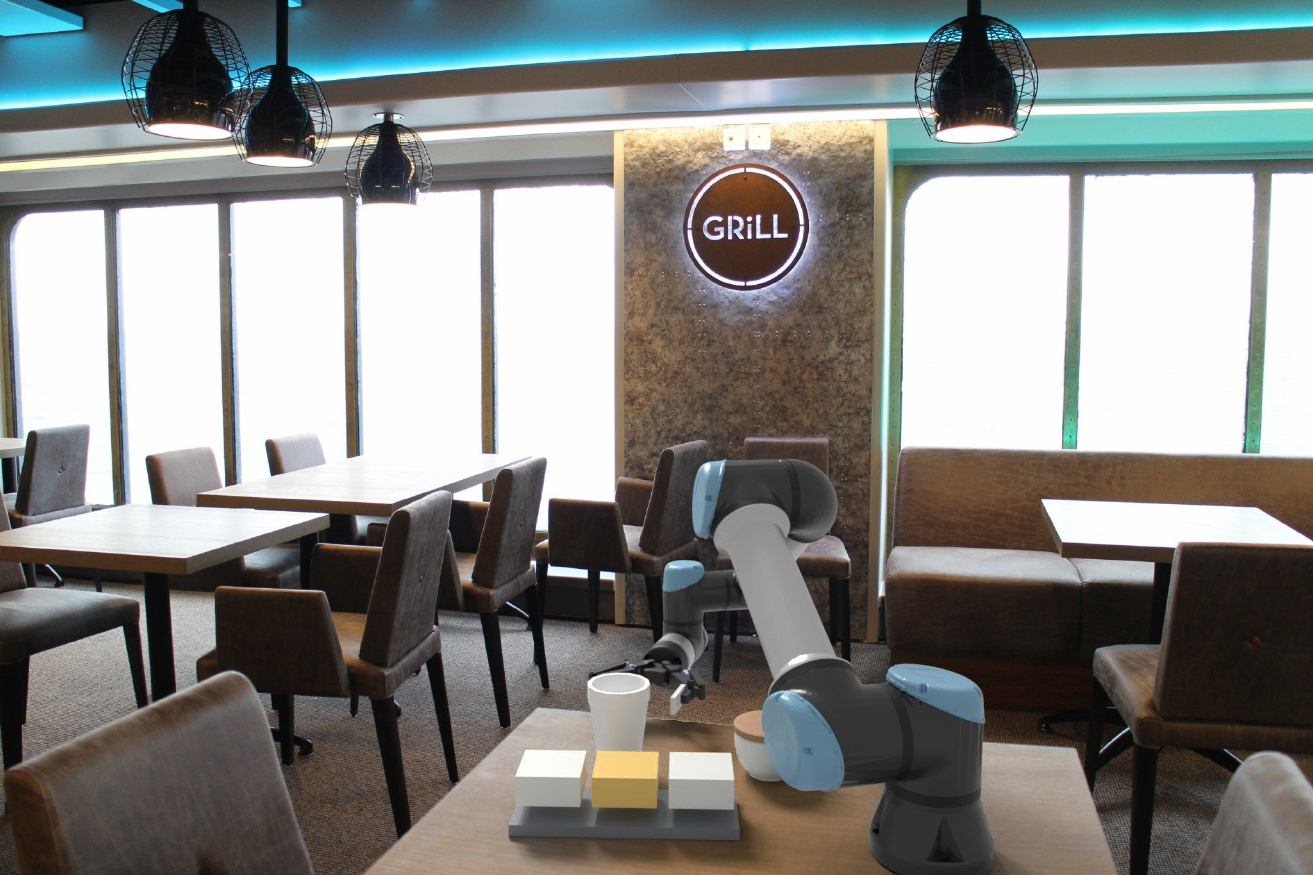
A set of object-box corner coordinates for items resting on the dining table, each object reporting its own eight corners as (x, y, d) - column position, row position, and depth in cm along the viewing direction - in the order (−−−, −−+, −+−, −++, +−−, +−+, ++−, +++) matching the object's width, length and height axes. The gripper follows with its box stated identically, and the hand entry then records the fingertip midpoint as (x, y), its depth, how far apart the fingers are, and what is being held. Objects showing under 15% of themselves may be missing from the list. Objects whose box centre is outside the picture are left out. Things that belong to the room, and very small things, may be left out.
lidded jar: (721, 764, 150) (721, 704, 149) (783, 753, 153) (784, 695, 153) (753, 793, 140) (753, 730, 139) (818, 782, 144) (819, 720, 143)
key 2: (730, 780, 136) (731, 752, 135) (733, 809, 127) (734, 779, 127) (669, 779, 136) (669, 751, 136) (668, 808, 128) (668, 778, 127)
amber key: (658, 779, 136) (658, 751, 136) (656, 808, 128) (656, 778, 127) (597, 778, 136) (597, 750, 136) (591, 807, 128) (591, 777, 128)
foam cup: (652, 755, 153) (653, 674, 152) (646, 781, 144) (646, 695, 142) (592, 752, 154) (592, 671, 152) (582, 778, 144) (582, 692, 143)
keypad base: (735, 800, 137) (735, 790, 137) (739, 840, 126) (739, 829, 126) (522, 797, 138) (522, 787, 138) (508, 836, 127) (508, 825, 127)
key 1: (586, 778, 136) (586, 750, 136) (580, 806, 128) (579, 777, 128) (525, 777, 137) (525, 749, 136) (515, 805, 128) (515, 776, 128)
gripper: (736, 688, 172) (707, 733, 151) (602, 674, 179) (558, 715, 159) (737, 646, 171) (708, 686, 151) (602, 634, 178) (557, 670, 158)
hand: (631, 701), depth 155 cm, fingers open, 13 cm apart
